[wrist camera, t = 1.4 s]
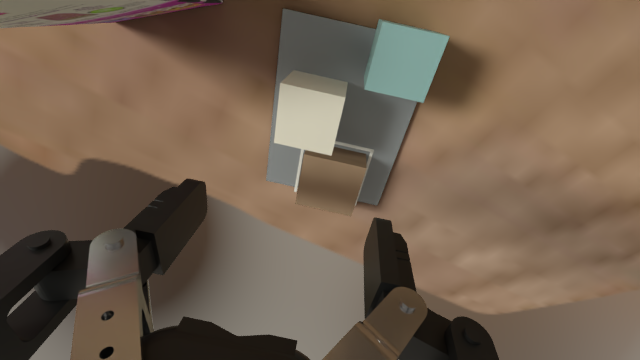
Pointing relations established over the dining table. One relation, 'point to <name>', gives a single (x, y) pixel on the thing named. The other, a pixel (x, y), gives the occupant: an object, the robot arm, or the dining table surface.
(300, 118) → the cream cube
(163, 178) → the dining table surface
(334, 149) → the walnut base
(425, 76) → the teal cube
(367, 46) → the board
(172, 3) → the candy bar box
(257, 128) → the dining table surface
